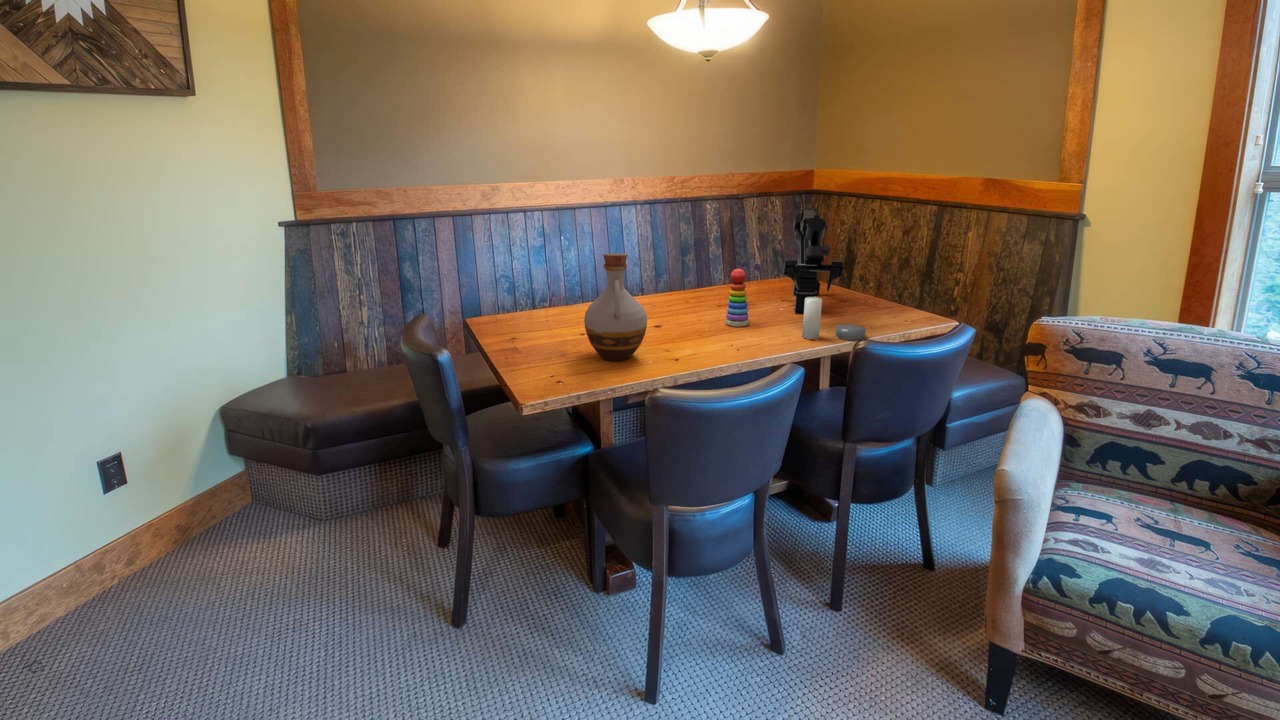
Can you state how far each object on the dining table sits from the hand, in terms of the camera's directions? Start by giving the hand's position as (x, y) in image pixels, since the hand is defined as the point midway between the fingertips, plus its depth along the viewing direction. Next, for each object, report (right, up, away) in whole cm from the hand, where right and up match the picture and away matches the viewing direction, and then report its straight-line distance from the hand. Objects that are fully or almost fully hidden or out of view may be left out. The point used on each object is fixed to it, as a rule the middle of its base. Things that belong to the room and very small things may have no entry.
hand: (813, 290), depth 232 cm
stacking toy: (-23, -11, +11) cm, 28 cm away
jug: (-62, -22, -25) cm, 71 cm away
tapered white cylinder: (-2, -15, -3) cm, 16 cm away
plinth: (+11, -15, -3) cm, 19 cm away
